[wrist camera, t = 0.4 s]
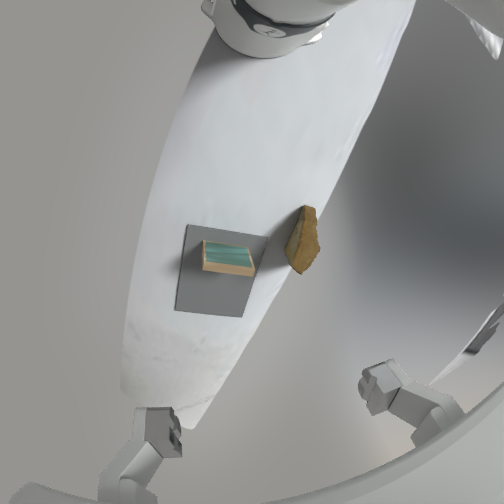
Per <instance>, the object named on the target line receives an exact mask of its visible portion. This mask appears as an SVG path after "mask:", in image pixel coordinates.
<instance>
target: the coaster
mask: <svg viewBox="0 0 504 504" xmlns="http://www.w3.org/2000/svg"><path fill="white" fill-rule="evenodd" d="M202 270H206V271H213V272H221V273H228V274H236V275H244V276H252V277H253V275H254V272H255V267H254V264H253V261H252V258H251V254H250V251H249V248H248V247H244V246H238V245H231V244H225V243H218V242H212V241H205V240H203V244H202Z"/></svg>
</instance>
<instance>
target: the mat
mask: <svg viewBox="0 0 504 504" xmlns="http://www.w3.org/2000/svg"><path fill="white" fill-rule="evenodd" d="M203 240H205V241H212V242H218V243H225V244H231V245H238V246H244V247H248V248H249V251H250V254H251V258H252V261H253V264H254V267H255V272H254V275H253V277H252V276H244V275H236V274H228V273H221V272H213V271H206V270H202V244H203ZM267 240H268V238H267V237H262V236H256V235H251V234H245V233H239V232H232V231H226V230H220V229H214V228H208V227H202V226H195V225H189V224H188V228H187V234H186V240H185V246H184V252H183V259H182V265H181V272H180V279H179V286H178V294H177V302H176V311H184V312H193V313H201V314H211V315H221V316H231V317H242V316H243V313H244V310H245V307H246V304H247V301H248V298H249V295H250V292H251V289H252V285H253V282H254V279H255V276H256V273H257V270H258V267H259V264H260V261H261V258H262V255H263V252H264V249H265V246H266V243H267Z"/></svg>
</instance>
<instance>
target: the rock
mask: <svg viewBox="0 0 504 504" xmlns="http://www.w3.org/2000/svg"><path fill="white" fill-rule="evenodd" d="M316 226H317V218H316V211H315V208H312V207H309V206H306V205H304V206H303V208H302V210H301V213H300V216H299V219H298V221H297V224H296V226H295V229H294V230H293V232H292V234H291V236H290V238H289V241H288V244H287V245H286V247H285V250H284V252H285V254H286V255H287V256H288V260H289V264H290V266H291V267H292V268H293V269H294V270H295V271H296V272H298V273H299V274H302V273H303V271H305V270H307V269H308V268H309V267H310V266H311V264H312V262H313V261H314V259H315V258H316V256H317V254H318V252H319V251H320V246H319V244H318V240H317V231H316Z"/></svg>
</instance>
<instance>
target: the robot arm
mask: <svg viewBox="0 0 504 504" xmlns="http://www.w3.org/2000/svg"><path fill="white" fill-rule="evenodd" d="M356 1H358V0H214V2H211V0H204V2H203V3H202V6H201V9H202V11H203V12H204V13H205V14H206V15H207V16H208V17H209V18H210V19H212V21H213V22H214V24H215V27H216V29H217V32H218V34H219V35H220V37H221V38H222V39H223V40H224V41H225V42H226V43H227V44H228V45H229V46H230V47H232V48H233V49H235V50H236V51H238V52H240V53H243V54H245V55H248V56H252V57H257V58H274V57H279V56H283V55H286V54H288V53H290V52H292V51H293V50H295V49H296V48H298V47H300V46H301V45H305V44H312V43H316V42H318V41H319V40H320V39H321V36H322V31H323V30H324V29H326V28H327V26H328V23H327V21H328V20H330V18H331V17H333V15H334V14H335V13H336V12H337V11H339V10H341V9H343V8H345V7H347V6H349V5H351V4H353V3H355V2H356ZM445 1H446V2H448V3H450V4H451V5H453V6H454V7H456V8H457V9H458V10H460V11H461V12H463V13H464V14H466V15H467V16H468V17H470V18H471V19H473V20H474V21H476V22H477V23H479V24H480V25H481V26H483V27H484V28H485V29H487V30H488V31H489V32H491V33H493V34H494V35H496V36H498V37H500V38H503V39H504V0H445ZM362 376H363V377H362V378H361V379H360V381H359V383H358V390H359V393H360V395H361V397H362V399H364V400H366V401H367V404H366V406H367V408H368V409H369V411H370V413H371V414H372V416H373V415H376V414H379V413H381V412H384V411H386V410H388V411H389V412H391V413H392V414H394V415H396V416H397V417H399V418H401V419H402V420H404V421H406V422H407V423H409V424H411V425H412V426H414V427H416V428H417V429H416V430H415V431H414V433H413V434H412V435H411V439H412V441H413V443H414V444H415V446H416V448H414V449H413V450H411V451H409V452H407V453H405V454H404V455H402V456H400V457H398V458H396V459H394V460H392V461H390V462H388V463H386V464H384V465H382V466H380V467H377V468H375V469H373V470H371V471H368V472H366V473H364V474H361V475H359V476H356V477H354V478H351V479H349V480H346V481H343V482H341V483H338V484H335V485H332V486H329V487H326V488H323V489H320V490H316V491H313V492H309V493H306V494H302V495H298V496H294V497H291V498H286V499H282V500H277V501H272V502H266V503H260V504H504V382H502V383H501V384H500V385H499V386H498V387H497V388H496V389H495V390H494V391H493V392H492V393H491V394H489V395H488V396H487V397H486V398H485V399H484V400H483V401H481V402H480V403H479V404H478V405H477V406H475V407H474V408H473V409H472V410H471V411H469V412H468V413H467V414H465V413H464V412H463V410H462V409H461V408H460V406H459V405H458V404H457V402H456V401H455V400H454V399H453V397H452V396H449V395H447V394H445V393H442V392H440V391H437V390H435V389H432V388H430V387H428V386H425V385H423V384H420V383H418V382H416V381H413V382H411V380H410V379H409V378H408V376H407V375H406V374H405V372H404V371H403V370H402V368H401V367H400V366H399V364H398V363H397V362H396V361H395V360H394V359H389V360H387V361H385V362H381V363H379V364H376V365H374V366H371V367H368V368H365V369H364V370H363V371H362ZM180 437H181V426H180V422H179V419H178V417H177V416H175V415H174V410H173V408H172V407H152V408H149V407H145V408H144V407H142V408H136V409H135V412H134V421H133V432H132V440H129V441H128V442H127V443H126V444H125V446H123V448H122V449H121V450H120V451H119V452H118V454H117V455H116V456H115V457H114V458H113V459H112V461H111V462H110V463H109V464H108V465H107V467H106V468H105V469H104V470H103V471H102V472H101V473H100V475H99V487H98V501H96V500H91V499H87V498H82V497H79V496H75V495H71V494H67V493H64V492H61V491H58V490H55V489H52V488H49V487H46V486H43V485H40V484H38V483H34V482H29V483H27V484H25V485H24V486H23V487H22V488H20V489H19V490H18V491H17V492H16V493H15V494H13V495H12V497H11V499H10V501H9V504H157V496H156V495H155V494H153V493H151V492H150V491H148V490H146V489H145V488H146V486H147V485H148V483H149V482H150V480H151V478H152V477H153V475H154V474H155V472H156V470H157V469H158V467H159V465H160V464H161V462H162V461H163V458H176V457H177V458H178V457H182V444H181V443H180V441H179V438H180Z"/></svg>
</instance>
